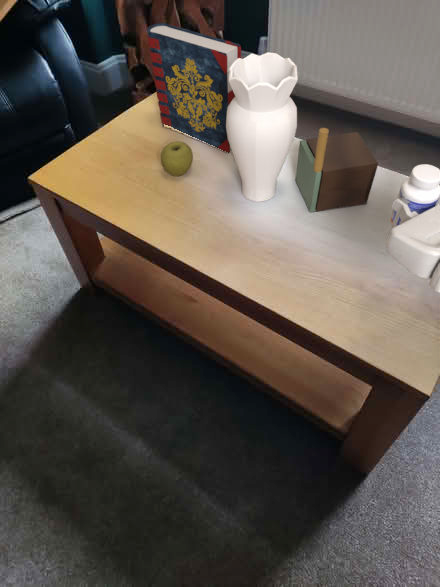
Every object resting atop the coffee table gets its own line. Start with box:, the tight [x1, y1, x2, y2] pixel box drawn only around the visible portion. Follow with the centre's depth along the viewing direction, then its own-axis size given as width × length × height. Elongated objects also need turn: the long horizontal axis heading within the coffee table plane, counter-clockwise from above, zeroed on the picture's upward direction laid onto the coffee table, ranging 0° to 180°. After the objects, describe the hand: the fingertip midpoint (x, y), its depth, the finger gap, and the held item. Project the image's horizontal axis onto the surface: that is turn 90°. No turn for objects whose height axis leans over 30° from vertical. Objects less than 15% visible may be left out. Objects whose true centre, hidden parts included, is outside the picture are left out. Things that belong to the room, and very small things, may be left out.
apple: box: [160, 141, 194, 177], centre depth 106 cm, size 8×8×7 cm
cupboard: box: [305, 131, 379, 212], centre depth 97 cm, size 12×12×11 cm
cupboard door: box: [294, 127, 330, 213], centre depth 93 cm, size 2×12×20 cm, turn 10°
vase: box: [226, 51, 299, 203], centre depth 92 cm, size 15×15×29 cm
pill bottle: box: [390, 163, 440, 228], centre depth 64 cm, size 5×5×10 cm
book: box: [146, 22, 242, 154], centre depth 109 cm, size 25×7×25 cm, turn 53°
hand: (413, 193), depth 64 cm, fingers closed on pill bottle, 5 cm apart
